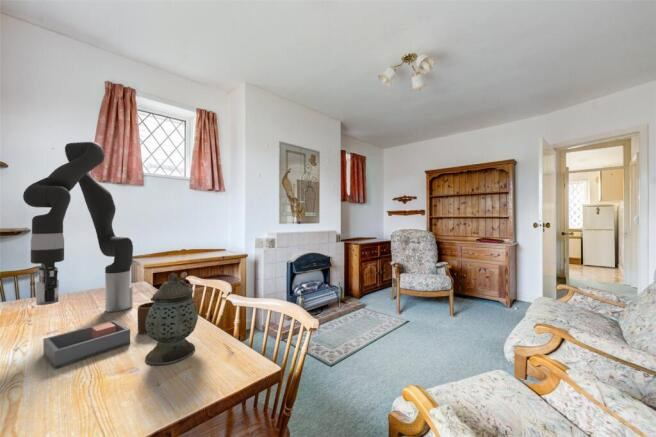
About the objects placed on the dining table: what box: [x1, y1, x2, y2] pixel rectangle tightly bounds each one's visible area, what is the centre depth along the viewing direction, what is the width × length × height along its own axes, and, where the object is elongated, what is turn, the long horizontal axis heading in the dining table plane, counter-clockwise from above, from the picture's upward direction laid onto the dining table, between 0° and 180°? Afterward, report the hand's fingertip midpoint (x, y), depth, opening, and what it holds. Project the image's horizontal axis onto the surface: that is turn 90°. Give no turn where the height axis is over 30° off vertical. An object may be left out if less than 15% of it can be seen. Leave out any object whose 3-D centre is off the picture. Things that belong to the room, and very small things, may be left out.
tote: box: [42, 319, 131, 370], centre depth 87 cm, size 18×14×5 cm
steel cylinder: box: [35, 279, 60, 306], centre depth 87 cm, size 5×5×7 cm
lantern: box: [144, 272, 199, 367], centre depth 84 cm, size 14×14×25 cm
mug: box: [137, 301, 155, 335], centre depth 100 cm, size 12×8×9 cm, turn 59°
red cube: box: [92, 323, 116, 339], centre depth 90 cm, size 5×5×5 cm
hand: (47, 299), depth 87 cm, fingers closed on steel cylinder, 5 cm apart
